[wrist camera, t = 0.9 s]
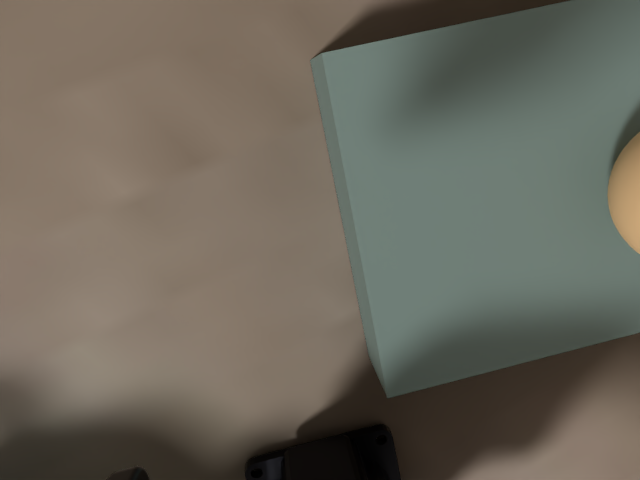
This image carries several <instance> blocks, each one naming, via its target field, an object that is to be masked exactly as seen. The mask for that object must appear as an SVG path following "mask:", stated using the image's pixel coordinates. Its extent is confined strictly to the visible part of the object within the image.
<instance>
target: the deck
mask: <svg viewBox="0 0 640 480" xmlns="http://www.w3.org/2000/svg"><path fill="white" fill-rule="evenodd" d="M310 62H311V67H312V72H313V77H314V82H315V87H316V92H317V97H318V102H319V107H320V112H321V117H322V122H323V127H324V132H325V137H326V142H327V147H328V152H329V157H330V162H331V167H332V172H333V178H334V183H335V188H336V193H337V198H338V203H339V208H340V213H341V218H342V223H343V228H344V233H345V238H346V243H347V248H348V253H349V258H350V263H351V268H352V273H353V278H354V283H355V288H356V293H357V298H358V303H359V308H360V313H361V319H362V324H363V329H364V334H365V339H366V344H367V349H368V354H369V358H370V360H371V362H372V364H373V367H374V369H375V371H376V373H377V376H378V378H379V380H380V382H381V385H382V387H383V389H384V391H385V394H386V396H387V398H391V397H395V396H399V395H403V394H406V393H410V392H414V391H418V390H422V389H426V388H429V387H433V386H437V385H441V384H445V383H449V382H452V381H456V380H460V379H464V378H468V377H472V376H475V375H479V374H483V373H487V372H491V371H495V370H499V369H502V368H506V367H510V366H514V365H518V364H522V363H525V362H529V361H533V360H537V359H541V358H545V357H548V356H552V355H556V354H560V353H564V352H568V351H571V350H575V349H579V348H583V347H587V346H591V345H594V344H598V343H602V342H606V341H610V340H614V339H617V338H621V337H625V336H629V335H633V334H637V333H640V254H639V253H637V252H636V251H635V250H634V249H633V248H632V247H630V246H629V244H628V243H627V242H626V241H625V240H624V239H623V237H622V236H621V235H620V233H619V232H618V230H617V228H616V226H615V225H614V223H613V220H612V218H611V215H610V210H609V206H608V196H607V194H608V183H609V178H610V174H611V171H612V169H613V166H614V164H615V162H616V160H617V158H618V156H619V155H620V153H621V152H622V150H623V149H624V147H625V146H626V145H627V144H628V143H629V141H630V140H631V139H632V138H633V137H635V136H636V135H637V134H638V133H639V132H640V0H570V1H565V2H561V3H556V4H551V5H547V6H542V7H537V8H532V9H528V10H523V11H518V12H513V13H509V14H504V15H499V16H495V17H490V18H485V19H480V20H476V21H471V22H466V23H461V24H457V25H452V26H447V27H443V28H438V29H433V30H428V31H424V32H419V33H414V34H410V35H405V36H400V37H395V38H391V39H386V40H381V41H376V42H372V43H367V44H362V45H358V46H353V47H348V48H343V49H339V50H334V51H329V52H325V53H321V54H319V55H318V56H316V57H315V58H313V59H311V60H310Z"/></svg>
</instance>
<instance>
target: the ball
mask: <svg viewBox="0 0 640 480" xmlns="http://www.w3.org/2000/svg"><path fill="white" fill-rule="evenodd" d="M607 196H608V206H609V210H610V215H611V218H612V220H613V223H614V225H615V226H616V228H617V230H618V232H619V233H620V235H621V236H622V237H623V239H624V240H625V241H626V242H627V243H628V244H629V246H630V247H632V248H633V249H634V250H635V251H636V252H637V253H639V254H640V132H639V133H638V134H637V135H636V136H635V137H633V138H632V139H631V140H630V141H629V143H628V144H627V145H626V146H625V147H624V149H623V150H622V152H621V153H620V155H619V156H618V158H617V160H616V162H615V164H614V166H613V169H612V171H611V174H610V178H609V183H608V194H607Z"/></svg>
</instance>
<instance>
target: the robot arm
mask: <svg viewBox="0 0 640 480" xmlns="http://www.w3.org/2000/svg"><path fill="white" fill-rule="evenodd" d="M380 435H384V437H383V438H381V439H376V438H377V437H378V436H380ZM255 468H259V469H261V470H260V471H253V469H255ZM245 477H246V480H401V478H400V473H399V468H398V462H397V457H396V452H395V447H394V442H393V437H392V434H391V432H390V430H389V428H388V427H387V426H386V425H383V424H379V425H374V426H370V427H367V428H363V429H359V430H355V431H351V432H348V433H344V434H340V435H336V436H332V437H329V438H325V439H321V440H317V441H314V442H310V443H306V444H302V445H298V446H295V447H291V448H287V449H283V450H279V451H276V452H272V453H268V454H264V455H260V456H257V457H253V458H251V459H249V460H248V461H247V463H246V465H245ZM106 480H150V479H149V477H148V474H147V472H146V470H145V469H144V468H143V467H141V466H134V467H130V468H126V469H123V470H119V471H116V472H114V473H112V474H111V475H110V476H109V477H108V478H107V479H106Z"/></svg>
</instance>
